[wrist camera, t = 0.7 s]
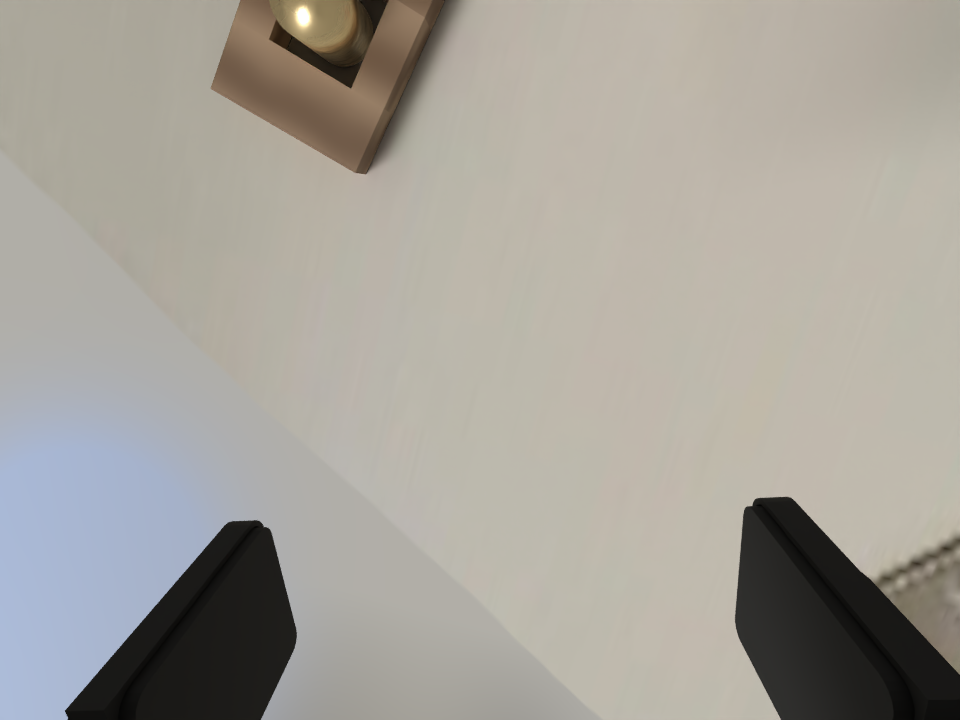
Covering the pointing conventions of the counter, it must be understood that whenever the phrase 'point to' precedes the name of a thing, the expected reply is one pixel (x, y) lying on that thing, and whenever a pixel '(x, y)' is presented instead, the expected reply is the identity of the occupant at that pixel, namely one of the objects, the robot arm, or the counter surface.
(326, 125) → the block
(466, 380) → the counter surface
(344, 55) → the pin
